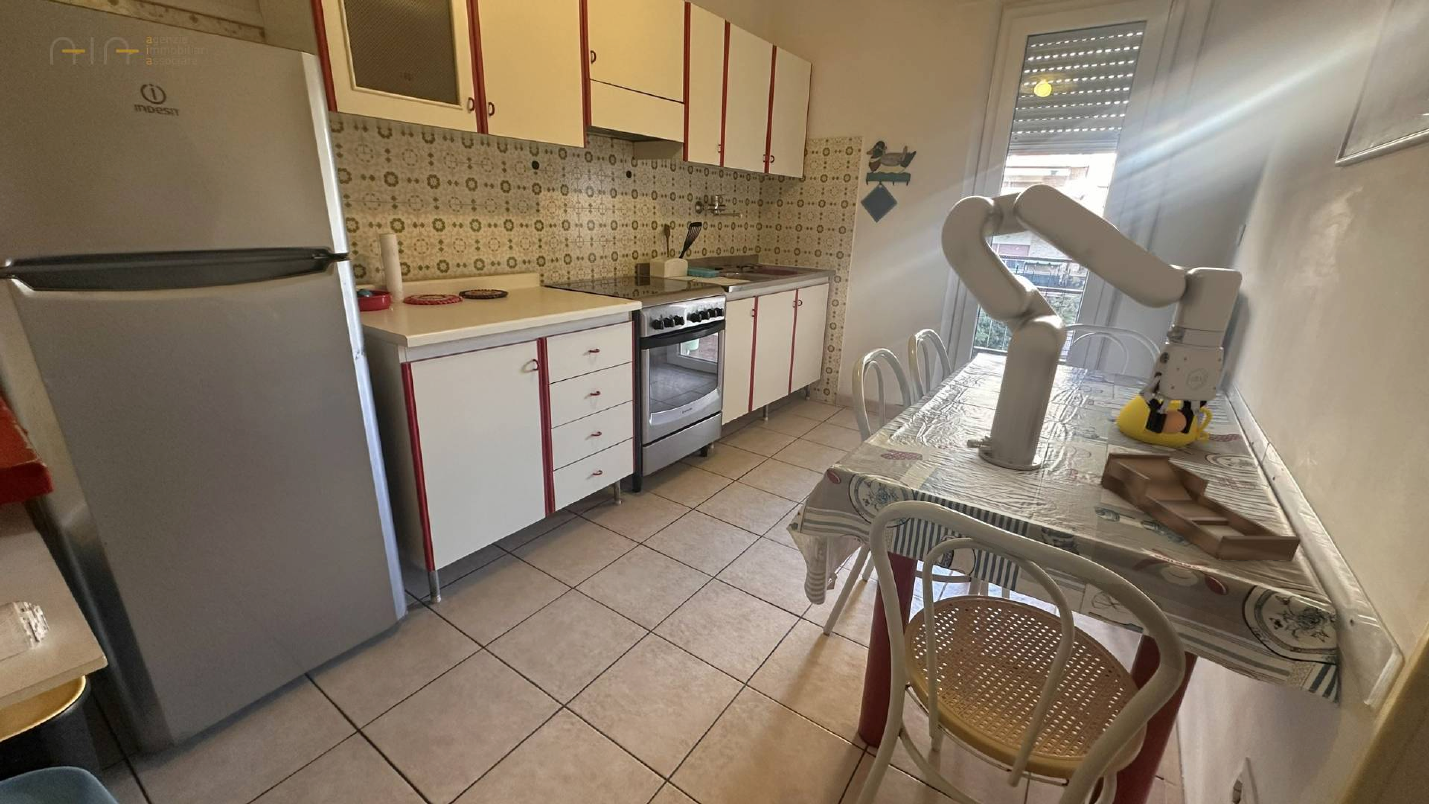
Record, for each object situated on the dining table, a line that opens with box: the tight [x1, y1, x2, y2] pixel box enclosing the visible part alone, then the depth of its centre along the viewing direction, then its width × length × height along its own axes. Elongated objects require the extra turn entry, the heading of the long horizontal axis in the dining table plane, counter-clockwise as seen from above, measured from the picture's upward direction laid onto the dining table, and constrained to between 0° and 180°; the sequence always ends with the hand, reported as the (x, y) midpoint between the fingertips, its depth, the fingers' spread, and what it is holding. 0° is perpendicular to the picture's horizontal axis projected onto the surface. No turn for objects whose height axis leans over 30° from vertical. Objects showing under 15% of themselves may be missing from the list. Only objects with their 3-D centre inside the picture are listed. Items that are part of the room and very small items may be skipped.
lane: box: [1099, 452, 1302, 561], centre depth 102 cm, size 27×13×7 cm, turn 4°
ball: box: [1162, 409, 1186, 434], centre depth 107 cm, size 5×5×5 cm
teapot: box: [1116, 394, 1213, 448], centre depth 140 cm, size 20×19×13 cm
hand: (1166, 430), depth 107 cm, fingers closed on ball, 4 cm apart
